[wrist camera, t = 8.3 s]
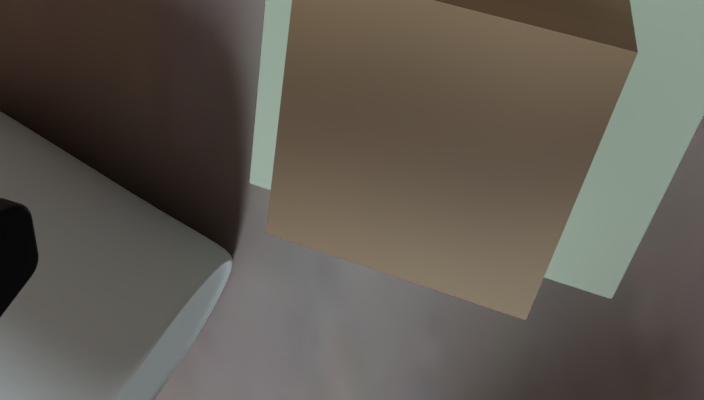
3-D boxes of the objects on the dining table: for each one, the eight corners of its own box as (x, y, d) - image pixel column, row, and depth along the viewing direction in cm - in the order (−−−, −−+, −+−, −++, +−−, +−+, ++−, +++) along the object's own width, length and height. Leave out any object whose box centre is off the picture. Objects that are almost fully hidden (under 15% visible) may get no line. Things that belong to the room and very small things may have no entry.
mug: (244, 219, 20) (-68, 25, 20) (49, 494, 16) (-333, 253, 16) (225, 311, 30) (23, 185, 31) (106, 487, 27) (-123, 343, 27)
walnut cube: (545, 187, 16) (526, 320, 12) (348, 128, 17) (265, 233, 13) (625, -24, 13) (637, 52, 9) (385, -82, 14) (295, -35, 10)
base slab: (789, -148, 14) (830, -139, 11) (610, 236, 19) (611, 299, 17) (336, -236, 15) (287, -244, 13) (290, 139, 21) (249, 183, 18)
